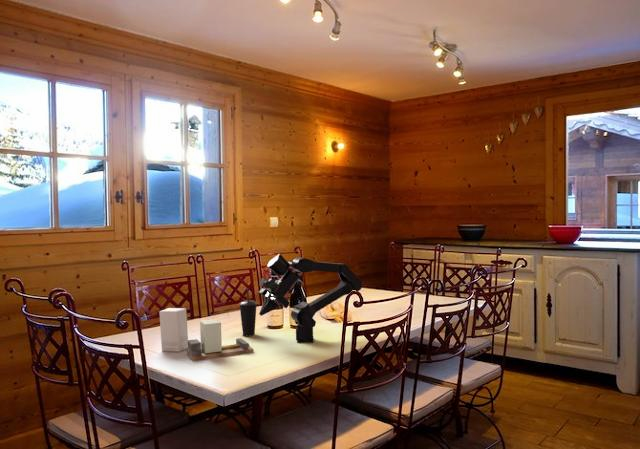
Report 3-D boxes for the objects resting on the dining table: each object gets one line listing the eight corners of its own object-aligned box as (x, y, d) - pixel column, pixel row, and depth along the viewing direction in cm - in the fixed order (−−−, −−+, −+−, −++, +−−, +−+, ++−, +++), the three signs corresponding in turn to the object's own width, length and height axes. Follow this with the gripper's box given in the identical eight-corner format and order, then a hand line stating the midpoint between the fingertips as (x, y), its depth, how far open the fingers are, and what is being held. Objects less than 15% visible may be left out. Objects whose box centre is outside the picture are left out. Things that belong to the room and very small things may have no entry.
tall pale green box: (216, 346, 196) (216, 319, 195) (221, 351, 189) (221, 322, 189) (200, 349, 193) (200, 320, 193) (205, 353, 187) (204, 324, 186)
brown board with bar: (245, 345, 202) (244, 331, 202) (253, 352, 193) (253, 337, 193) (186, 354, 192) (186, 339, 192) (192, 361, 183) (192, 345, 183)
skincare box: (189, 348, 201) (187, 308, 200) (179, 352, 195) (177, 311, 194) (170, 346, 204) (169, 307, 203) (160, 351, 197) (158, 310, 197)
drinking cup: (254, 337, 215) (253, 289, 214) (237, 337, 217) (235, 289, 216) (260, 333, 223) (259, 286, 222) (243, 332, 224) (242, 286, 223)
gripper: (263, 268, 209) (237, 298, 205) (280, 272, 193) (253, 305, 188) (282, 285, 213) (257, 315, 209) (300, 291, 196) (274, 324, 192)
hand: (260, 314), depth 199 cm, fingers closed
